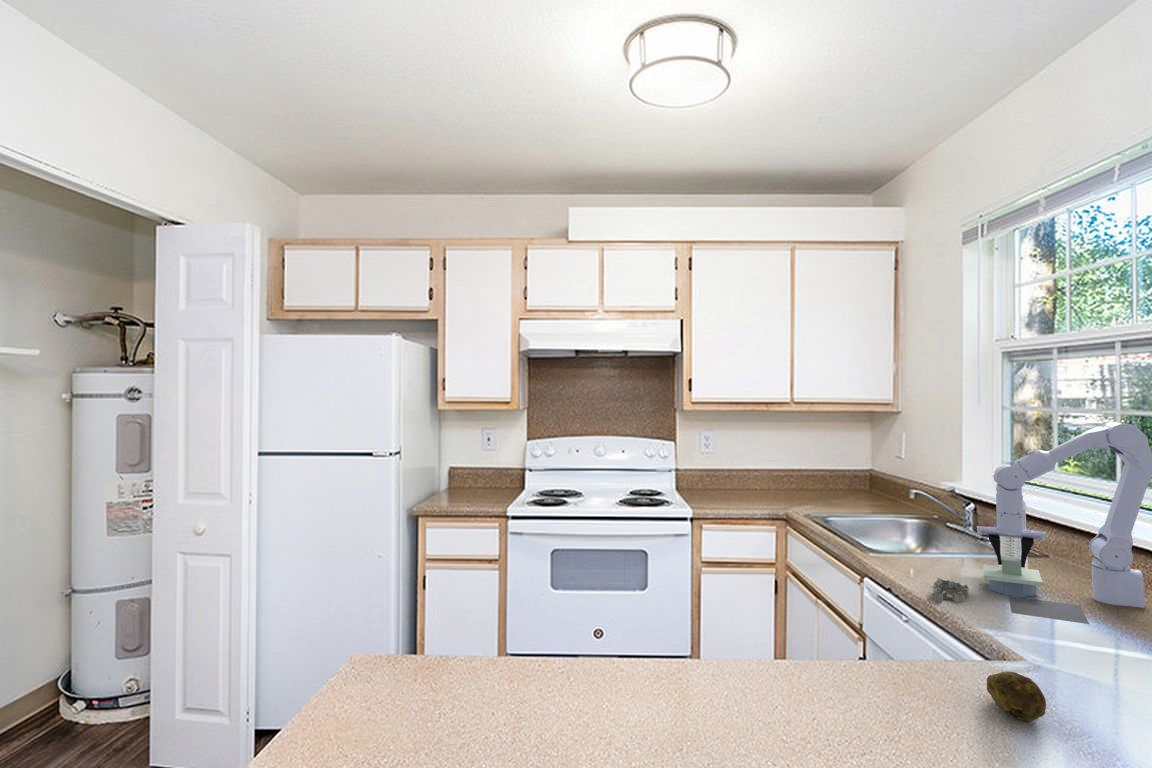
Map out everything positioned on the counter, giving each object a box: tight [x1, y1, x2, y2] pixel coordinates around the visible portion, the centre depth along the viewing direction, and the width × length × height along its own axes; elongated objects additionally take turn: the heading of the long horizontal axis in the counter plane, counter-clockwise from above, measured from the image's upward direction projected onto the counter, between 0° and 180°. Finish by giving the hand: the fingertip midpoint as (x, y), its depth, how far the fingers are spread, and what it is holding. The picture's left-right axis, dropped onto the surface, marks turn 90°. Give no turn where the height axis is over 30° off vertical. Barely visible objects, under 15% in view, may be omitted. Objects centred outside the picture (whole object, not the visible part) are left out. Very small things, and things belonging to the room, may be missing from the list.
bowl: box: [988, 580, 1037, 598], centre depth 160 cm, size 10×10×4 cm
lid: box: [982, 556, 1044, 587], centre depth 160 cm, size 12×12×4 cm
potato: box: [986, 670, 1047, 722], centre depth 99 cm, size 8×13×8 cm, turn 140°
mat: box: [1008, 595, 1090, 625], centre depth 146 cm, size 14×14×1 cm
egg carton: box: [931, 577, 970, 603], centre depth 157 cm, size 11×8×4 cm
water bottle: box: [997, 500, 1029, 569], centre depth 173 cm, size 7×7×25 cm
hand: (1011, 565), depth 160 cm, fingers open, 4 cm apart
